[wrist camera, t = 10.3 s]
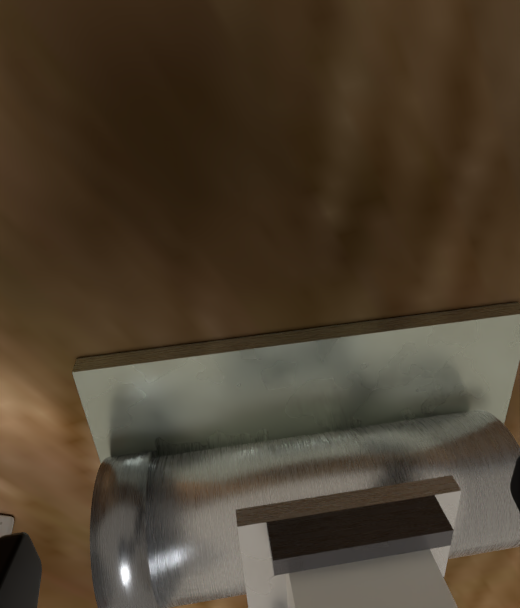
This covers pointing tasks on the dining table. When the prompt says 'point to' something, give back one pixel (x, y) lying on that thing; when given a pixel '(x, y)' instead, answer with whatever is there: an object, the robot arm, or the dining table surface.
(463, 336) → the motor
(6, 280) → the dining table surface
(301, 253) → the dining table surface
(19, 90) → the dining table surface
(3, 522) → the supplement box
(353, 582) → the off-white cube
